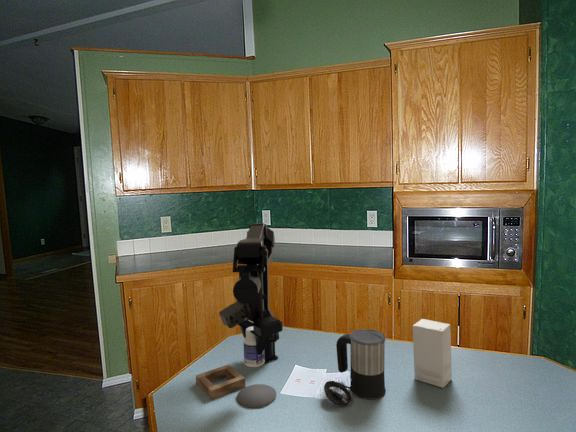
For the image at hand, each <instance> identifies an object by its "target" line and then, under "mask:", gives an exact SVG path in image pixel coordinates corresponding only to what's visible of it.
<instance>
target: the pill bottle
mask: <svg viewBox="0 0 576 432" xmlns="http://www.w3.org/2000/svg"><path fill="white" fill-rule="evenodd" d="M252 330H254V329H253V326H252V327H248V328H247V329H246V337H245V338H244V337H243V360H244V363H243V364H244V365H245V366H247V367H250V368H256V367H261V366H262V365H264V362H265V354H264V351H263V353H262V354H260V355H258V352H257V347H256V340H255V336H254V335H253V334H252V333H251V332H250V331H252Z"/></svg>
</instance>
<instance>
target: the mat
mask: <svg viewBox="0 0 576 432" xmlns="http://www.w3.org/2000/svg"><path fill="white" fill-rule="evenodd" d="M236 395H237V396H236V397H237V402H238V404H239V405H241V406H243V407H245V408H250V409H258V408H259V409H260V408H264V407H267V406H269V405H271V404H272V403H274V402H275V400H276V398H277V391H276V389H275V388H274V387H273V386H270V385H267V384H262V383H256V384H254V383H253V384H250V385H247V386H245V387H244V388H241V389H239V391H238V393H237V394H236Z"/></svg>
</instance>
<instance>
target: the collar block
mask: <svg viewBox="0 0 576 432" xmlns="http://www.w3.org/2000/svg"><path fill="white" fill-rule="evenodd" d="M224 378H226V379H228V380H226V381H223V382H221V383H218V384H215V385H214V384H213V383H214V382H216V381H218V380H221V379H224ZM212 382H213V383H212ZM195 384H196V385H197V387H198V388H199V389H200V390H201V391H202V392H203V393H204V394H205V395H206V396H207V397H208V398H209V400H211V401H212V400H213V401H214V400H215V399H218V398H220V397H223V396H225V395H228V394H231V393H233V392H236V391H238V390H239V391H240V390H242V389H243V388H245V387H246V377H245V376H243V375H242V374H241V373H240V372H239V371H237V370H236V369H235V368H234V367H232V366H231V365H230V364H226V365H222V366H220V367H217V368H213V369H211V370H208V371H205V372H202V373H200V374H196V375H195Z"/></svg>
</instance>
